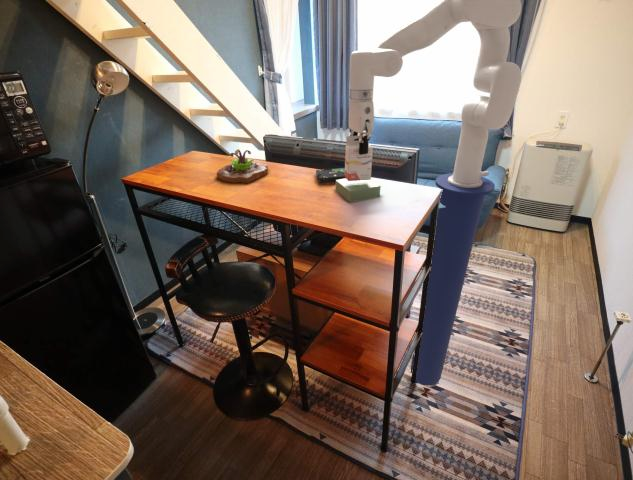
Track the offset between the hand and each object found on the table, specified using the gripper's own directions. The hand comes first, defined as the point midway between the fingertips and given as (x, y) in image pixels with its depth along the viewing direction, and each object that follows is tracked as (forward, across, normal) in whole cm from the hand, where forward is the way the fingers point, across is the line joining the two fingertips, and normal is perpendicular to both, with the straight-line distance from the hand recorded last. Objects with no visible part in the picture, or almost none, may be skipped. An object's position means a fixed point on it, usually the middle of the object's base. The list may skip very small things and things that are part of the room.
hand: (358, 151), depth 118 cm
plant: (+16, +38, +35) cm, 54 cm away
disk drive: (+16, +17, +1) cm, 23 cm away
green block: (+16, 0, 0) cm, 16 cm away
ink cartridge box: (+10, 0, 0) cm, 10 cm away
